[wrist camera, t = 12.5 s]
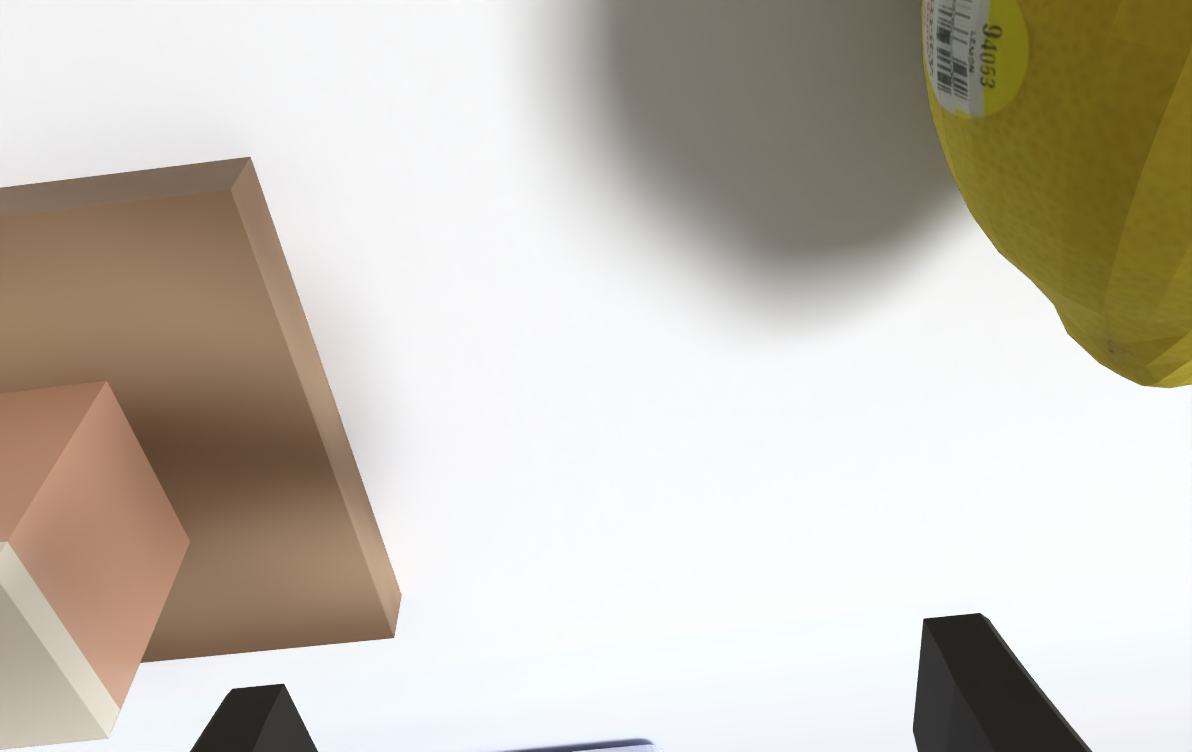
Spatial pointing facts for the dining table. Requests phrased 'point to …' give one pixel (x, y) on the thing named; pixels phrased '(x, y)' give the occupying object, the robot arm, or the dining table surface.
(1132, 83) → the lemon
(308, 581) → the walnut block
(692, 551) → the dining table surface
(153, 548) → the lidded terracotta box
